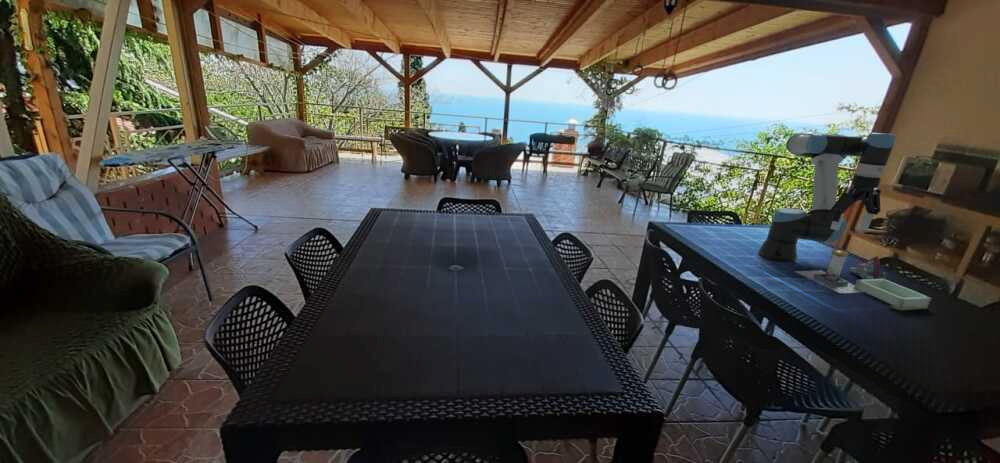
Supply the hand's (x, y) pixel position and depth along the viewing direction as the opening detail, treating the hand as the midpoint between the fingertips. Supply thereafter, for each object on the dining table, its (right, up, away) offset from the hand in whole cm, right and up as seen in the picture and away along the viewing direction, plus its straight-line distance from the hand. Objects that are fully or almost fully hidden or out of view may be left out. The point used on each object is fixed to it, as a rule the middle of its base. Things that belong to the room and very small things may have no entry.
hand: (848, 229), depth 152 cm
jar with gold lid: (-1, -21, +7) cm, 22 cm away
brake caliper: (+19, -22, +13) cm, 32 cm away
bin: (+12, -27, -3) cm, 29 cm away
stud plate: (-1, -22, +8) cm, 23 cm away
